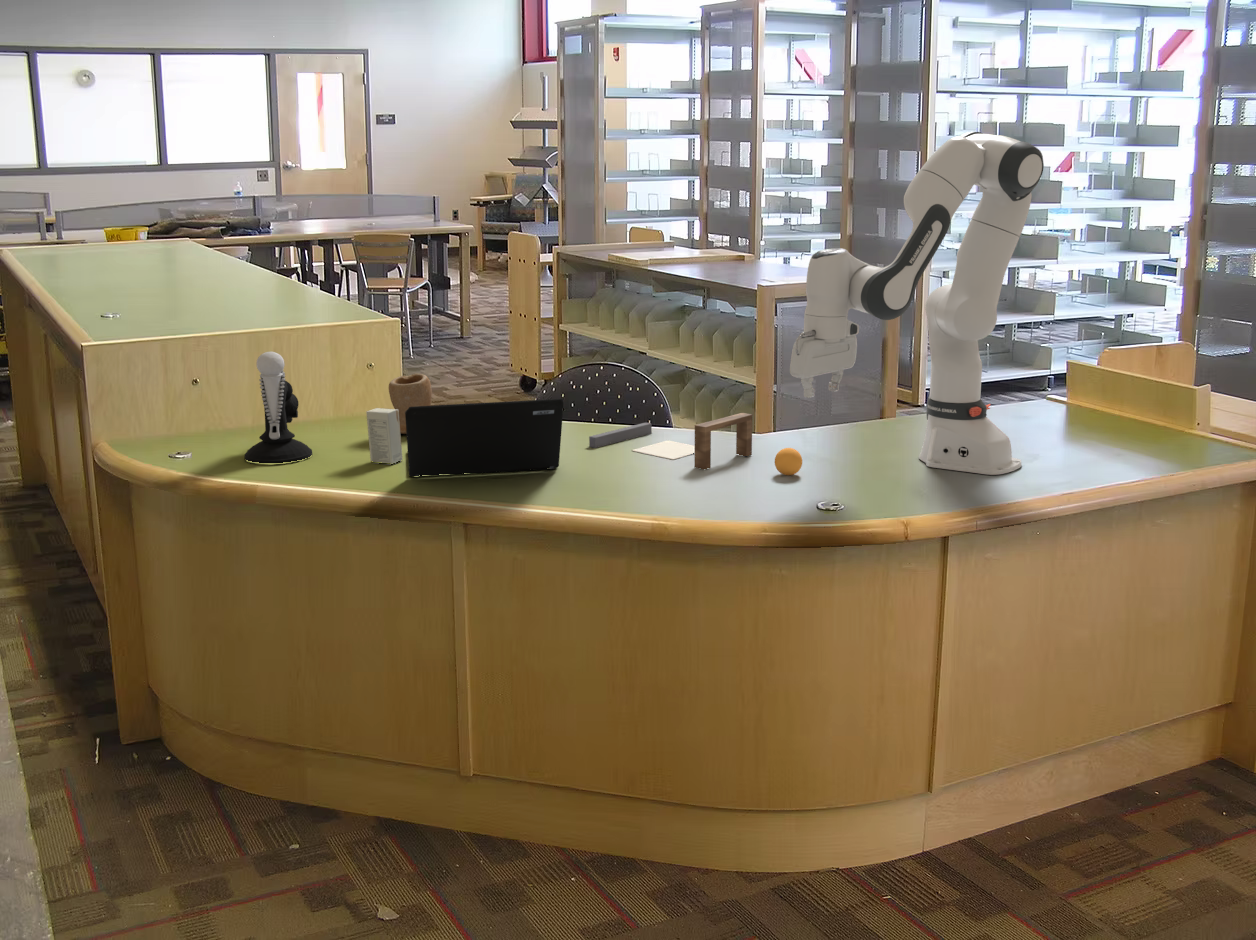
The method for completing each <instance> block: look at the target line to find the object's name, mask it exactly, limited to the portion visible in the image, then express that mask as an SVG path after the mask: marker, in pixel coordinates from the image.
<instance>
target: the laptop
mask: <svg viewBox="0 0 1256 940" xmlns="http://www.w3.org/2000/svg"><path fill="white" fill-rule="evenodd" d="M563 414H564V398H553V399H552V398H550V399H530V400H513V401H512V400H511V401H510V400H509V401H495V402H494V401H493V402H476V403H475V402H473V403H455V404H437V405H435V404H434V405H431V406H415V407H409V408H408V409H407V410H406V411H405V418H406V434H405V435H406V445H407V448H406V449H407V458H408V476H409V475H410V476H409V477H411V476H419V475H420V476H422V475H439V474H461V475H465V474H464V473H482V474H492V473H491V472H495V473H511V472H513V473H514V472H524V471H525V472H527V471H541V470H542V471H543V470H545V471H546V470H555V469H556V468H557V469H558V467H559V466H560V454H561V442H562V441H561V440H562V431H563V429H562V428H563V417H564V415H563Z"/></svg>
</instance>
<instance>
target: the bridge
mask: <svg viewBox="0 0 1256 940" xmlns="http://www.w3.org/2000/svg"><path fill="white" fill-rule="evenodd" d="M734 425H736V429H735V430H736V431H735V432H736V435H735V436H736V438H735V441H736V443H735V445H736V448H735V455H736V454H739V455H743V456H749V455H753V451H752V450H753V414H751V413H746V412H740V413H736V414H732V415H729V416H725V417H721V418H716V419H713V420H710V421H709V420H708V421H706V422H701V423H698V424H695V425H694V446H695V454H694V468H695V467H696V468H695V469H699V468H701V469H700V470H704V469H706V470H708V469H707V468H709V469H711V465H712V463H711V462H712V461H711V460H712V457H711V456H712V455H711V454H712V449H711V448H712V447H711V446H712V445H711V443H712V442H711V441H712V431H715V430H720V429H723V428H726V427H731V426H734ZM743 456H742V457H743ZM749 457H750V456H749Z"/></svg>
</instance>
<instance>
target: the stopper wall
mask: <svg viewBox="0 0 1256 940" xmlns="http://www.w3.org/2000/svg"><path fill="white" fill-rule="evenodd" d="M652 425H653V424H652V423H650V422H645V421H644V422H642V423H638V424H634V425H629V426H626V427H622V428H619V429H615V430H610V431H605V432H601V433H598V434H593V435H590V436H589V437H588V439H589V443H588V445H589V448H595V449H596V448H600V447H604V446H608V445H613V444H616V443H620V442H624V441H627V440H632V439H634V438H635V439H636V438H639V437H642V436H648V435H651V434H652V431H653V430H652Z"/></svg>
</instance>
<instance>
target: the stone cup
mask: <svg viewBox="0 0 1256 940" xmlns="http://www.w3.org/2000/svg"><path fill="white" fill-rule="evenodd" d="M388 394H389V399H390V401H391V405H392V407H393V409H398V410H399V422H400V434H403V435H407V434H406V418H405V411H406V410H407V409H408V408H409V407H415V406H432V400H433V399H432V397H433V389H432V384H431V380H430V378H429V377H428V376H427V375H425V374H423V373H413V374H410V375H400V376H397V377H394V378H393V379H392V380H390V382H389V384H388Z"/></svg>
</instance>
